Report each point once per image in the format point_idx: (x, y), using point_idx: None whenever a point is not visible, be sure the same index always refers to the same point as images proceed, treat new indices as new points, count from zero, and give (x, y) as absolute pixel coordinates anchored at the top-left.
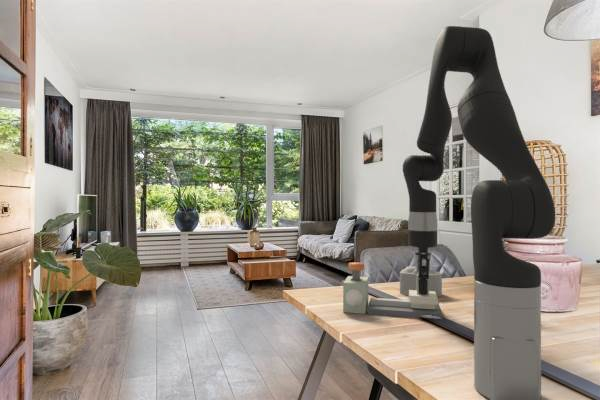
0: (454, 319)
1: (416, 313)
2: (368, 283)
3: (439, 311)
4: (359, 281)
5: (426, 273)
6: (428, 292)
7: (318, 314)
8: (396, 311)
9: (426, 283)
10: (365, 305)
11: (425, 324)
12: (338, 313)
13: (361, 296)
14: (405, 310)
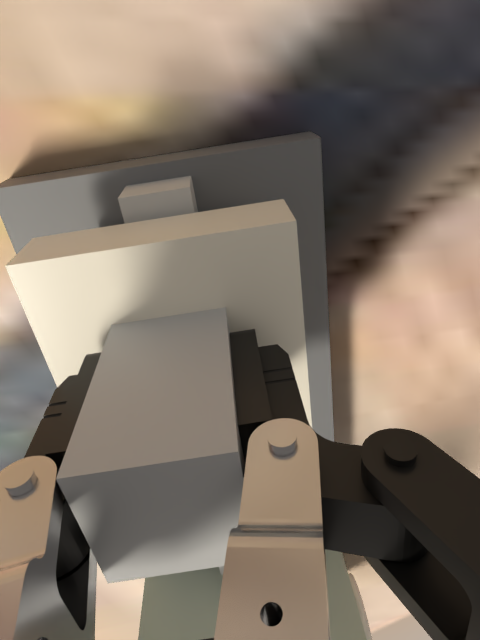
0: (259, 30)
1: (325, 317)
2: None
3: (250, 168)
4: None
5: (395, 519)
6: (226, 323)
7: (393, 619)
8: (332, 419)
9: (269, 402)
10: (341, 553)
11: (447, 238)
12: (358, 583)
13: (364, 615)
14: (314, 383)
